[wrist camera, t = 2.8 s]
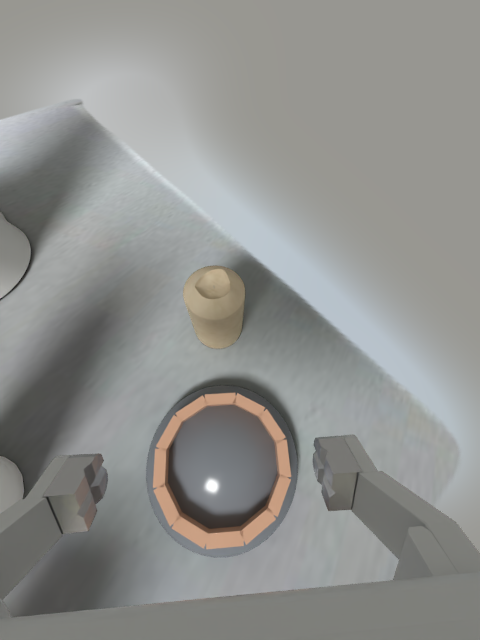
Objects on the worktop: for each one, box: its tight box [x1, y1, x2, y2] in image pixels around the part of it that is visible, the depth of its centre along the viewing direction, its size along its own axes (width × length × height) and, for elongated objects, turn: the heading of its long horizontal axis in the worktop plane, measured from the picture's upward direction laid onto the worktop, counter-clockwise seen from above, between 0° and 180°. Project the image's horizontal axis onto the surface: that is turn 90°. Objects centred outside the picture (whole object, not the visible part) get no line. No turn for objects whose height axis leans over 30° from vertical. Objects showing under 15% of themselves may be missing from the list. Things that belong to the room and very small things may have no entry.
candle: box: [183, 266, 245, 349], centre depth 27 cm, size 6×6×10 cm
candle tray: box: [146, 385, 298, 557], centre depth 25 cm, size 14×14×2 cm
